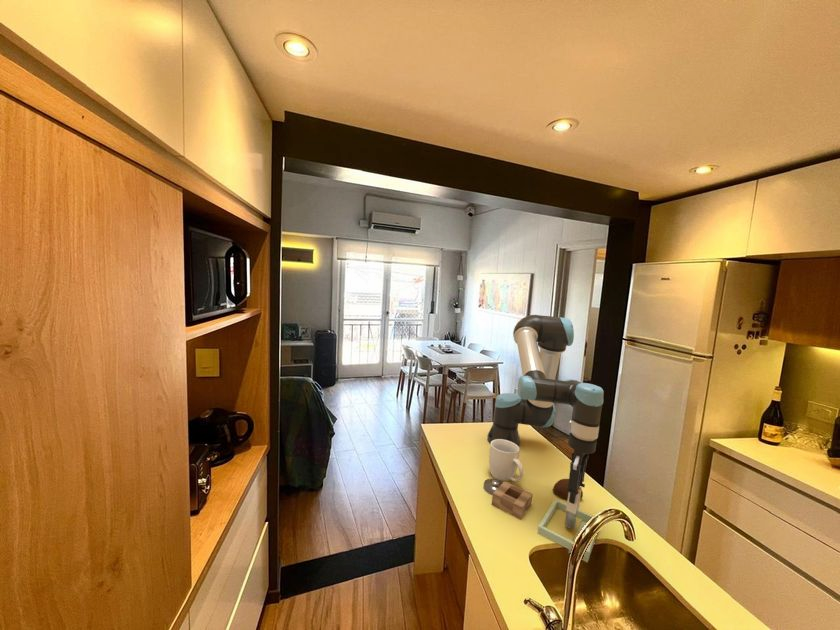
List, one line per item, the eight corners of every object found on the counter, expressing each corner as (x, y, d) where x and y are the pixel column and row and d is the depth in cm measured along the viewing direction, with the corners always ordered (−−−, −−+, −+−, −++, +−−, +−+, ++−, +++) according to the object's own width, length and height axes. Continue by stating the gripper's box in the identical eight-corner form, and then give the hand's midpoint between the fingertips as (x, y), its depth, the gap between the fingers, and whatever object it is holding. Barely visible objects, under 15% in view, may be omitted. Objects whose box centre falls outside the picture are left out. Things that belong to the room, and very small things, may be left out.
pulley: (489, 482, 126) (490, 473, 126) (509, 491, 122) (510, 482, 121) (479, 491, 120) (480, 481, 120) (500, 501, 115) (501, 492, 115)
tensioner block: (503, 494, 120) (504, 480, 119) (530, 507, 114) (532, 493, 113) (491, 507, 112) (492, 493, 111) (520, 522, 106) (522, 507, 105)
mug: (529, 487, 126) (534, 454, 124) (509, 495, 120) (514, 460, 118) (500, 467, 138) (504, 436, 137) (480, 473, 132) (484, 441, 131)
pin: (566, 520, 106) (571, 483, 104) (576, 525, 104) (581, 488, 103) (563, 525, 103) (569, 488, 102) (574, 530, 101) (579, 492, 100)
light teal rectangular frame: (554, 507, 115) (555, 498, 115) (599, 528, 107) (600, 519, 106) (536, 535, 101) (538, 526, 100) (587, 562, 92) (589, 552, 92)
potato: (586, 506, 118) (589, 487, 117) (557, 503, 118) (559, 484, 117) (577, 493, 125) (579, 475, 124) (549, 491, 125) (551, 473, 124)
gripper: (576, 424, 109) (566, 491, 112) (563, 439, 97) (552, 515, 99) (601, 431, 105) (591, 502, 107) (591, 449, 92) (579, 528, 94)
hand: (572, 508), depth 103 cm, fingers closed on pin, 3 cm apart
